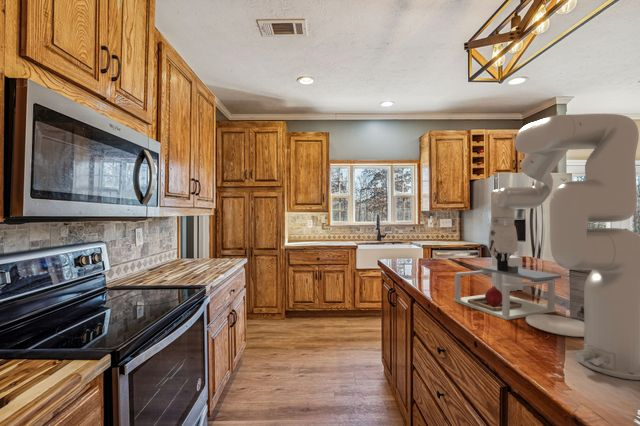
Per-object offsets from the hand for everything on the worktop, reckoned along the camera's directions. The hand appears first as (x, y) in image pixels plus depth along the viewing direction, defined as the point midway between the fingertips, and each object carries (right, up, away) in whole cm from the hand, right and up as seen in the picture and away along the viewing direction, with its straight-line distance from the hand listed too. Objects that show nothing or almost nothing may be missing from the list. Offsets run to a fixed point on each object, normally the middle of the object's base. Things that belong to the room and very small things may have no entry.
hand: (502, 270), depth 116 cm
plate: (+4, -13, -22) cm, 26 cm away
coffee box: (+21, -13, -14) cm, 28 cm away
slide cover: (+8, -2, +3) cm, 9 cm away
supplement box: (+17, -13, +25) cm, 33 cm away
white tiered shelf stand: (0, -13, 0) cm, 13 cm away
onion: (-4, -13, -1) cm, 14 cm away
